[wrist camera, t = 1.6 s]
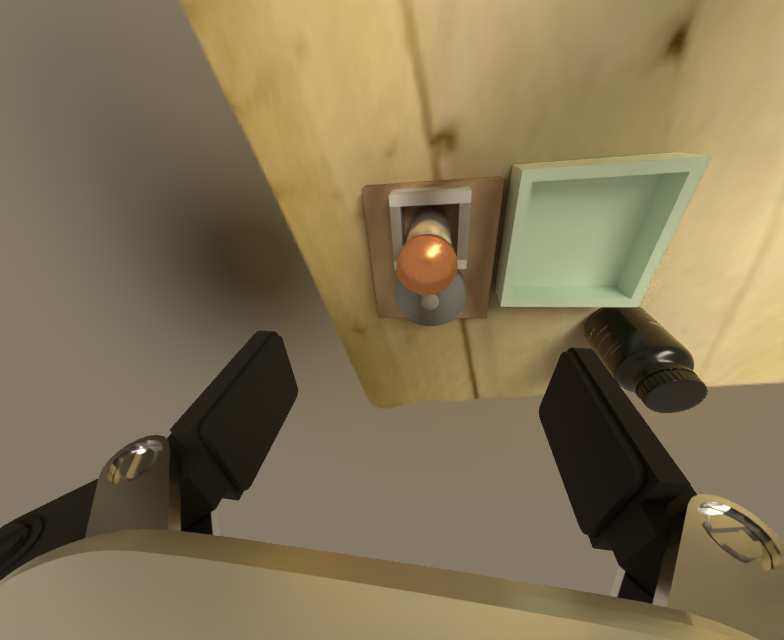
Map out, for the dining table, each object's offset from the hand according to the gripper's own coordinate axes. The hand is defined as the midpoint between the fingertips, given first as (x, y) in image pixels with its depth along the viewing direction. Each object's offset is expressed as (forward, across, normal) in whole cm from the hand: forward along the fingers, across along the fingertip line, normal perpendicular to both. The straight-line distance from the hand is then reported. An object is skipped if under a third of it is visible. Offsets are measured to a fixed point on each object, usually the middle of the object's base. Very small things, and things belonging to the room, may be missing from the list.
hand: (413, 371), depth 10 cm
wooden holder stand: (+26, -1, +6) cm, 26 cm away
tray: (+26, -16, +3) cm, 30 cm away
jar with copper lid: (+24, 0, +2) cm, 24 cm away
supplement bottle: (+26, -24, +14) cm, 38 cm away
